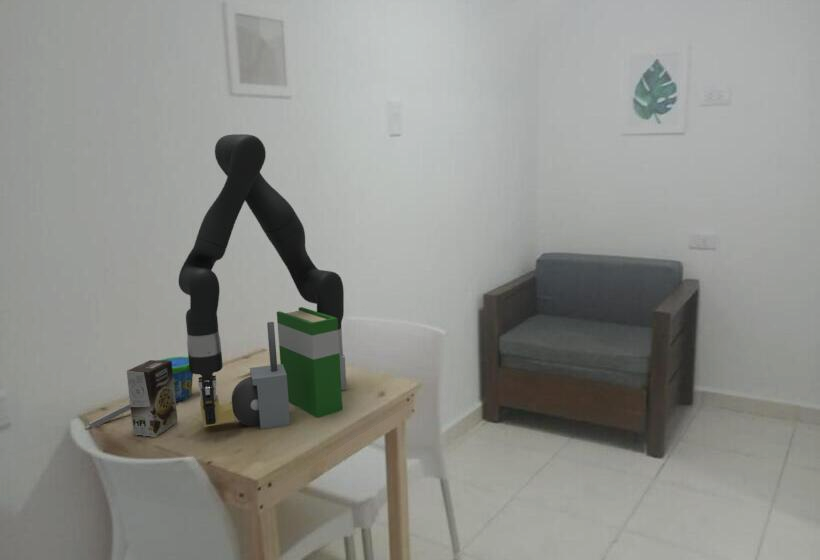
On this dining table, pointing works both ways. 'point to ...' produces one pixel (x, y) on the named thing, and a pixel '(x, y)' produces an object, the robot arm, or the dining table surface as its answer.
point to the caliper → (109, 416)
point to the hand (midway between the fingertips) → (210, 419)
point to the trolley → (263, 393)
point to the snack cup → (181, 377)
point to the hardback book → (311, 360)
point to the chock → (219, 412)
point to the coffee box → (152, 397)
